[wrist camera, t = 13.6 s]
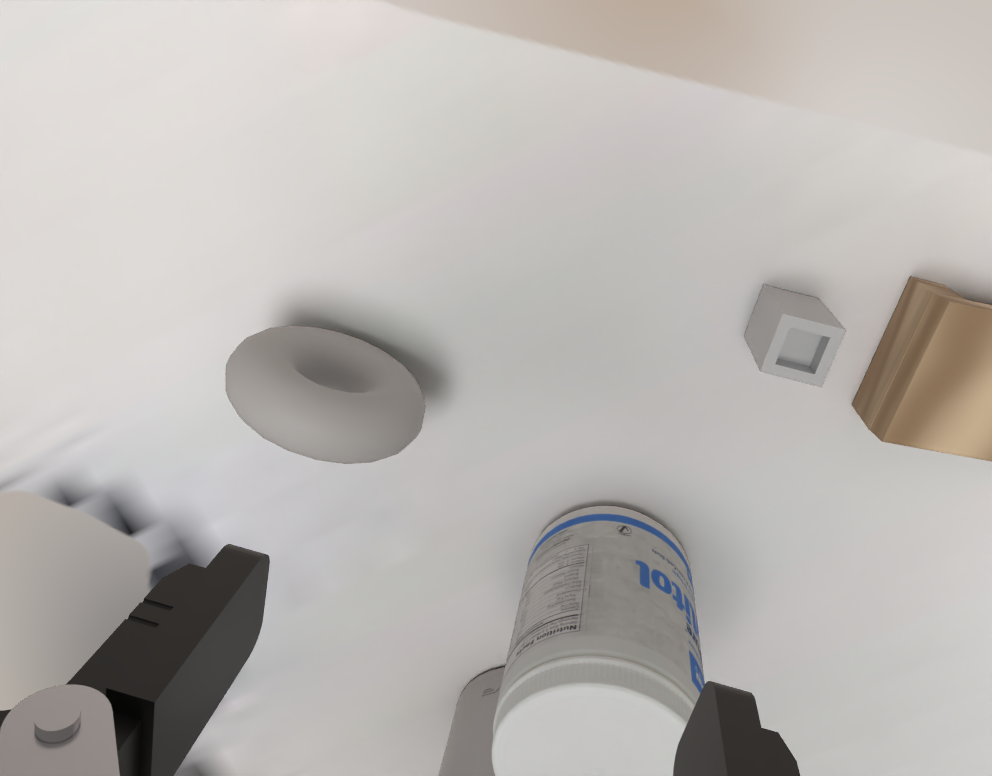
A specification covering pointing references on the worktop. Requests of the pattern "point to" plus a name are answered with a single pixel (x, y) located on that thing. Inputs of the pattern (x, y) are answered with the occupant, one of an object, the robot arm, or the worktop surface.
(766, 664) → the worktop surface
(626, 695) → the supplement tub
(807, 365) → the hollow grey box
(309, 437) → the donut
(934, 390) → the ramp
